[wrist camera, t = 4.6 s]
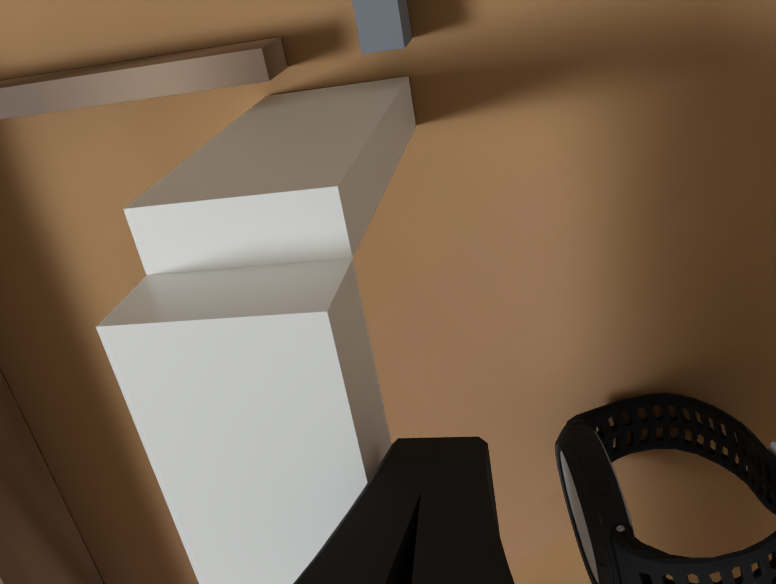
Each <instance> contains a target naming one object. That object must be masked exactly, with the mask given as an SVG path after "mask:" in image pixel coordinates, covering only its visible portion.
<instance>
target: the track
mask: <svg viewBox="0 0 776 584" xmlns="http://www.w3.org/2000/svg"><path fill="white" fill-rule="evenodd" d="M286 68H288V67H287V63H286V58H285V54H284V49H283V45H282V40H281V37H276V38H269V39H263V40H257V41H250V42H244V43H237V44H231V45H225V46H218V47H212V48H205V49H199V50H193V51H186V52H180V53H174V54H167V55H161V56H154V57H148V58H142V59H135V60H129V61H122V62H116V63H110V64H103V65H97V66H90V67H84V68H78V69H71V70H65V71H58V72H52V73H46V74H39V75H33V76H27V77H20V78H14V79H7V80H1V81H0V119H6V118H13V117H20V116H27V115H34V114H41V113H48V112H55V111H62V110H69V109H76V108H83V107H90V106H97V105H104V104H111V103H118V102H125V101H132V100H139V99H146V98H153V97H160V96H167V95H174V94H181V93H188V92H195V91H202V90H209V89H216V88H223V87H230V86H237V85H244V84H251V83H258V82H265V81H270V80H271V79H273V78H274V77H275V76H277V75H278V74H279V73H281V72H282V71H283V70H285V69H286ZM0 584H104V583H103V581H102V579H101V577H100V575H99V573H98V571H97V569H96V566H95V564H94V562H93V560H92V558H91V556H90V554H89V552H88V550H87V548H86V546H85V544H84V542H83V540H82V538H81V536H80V533H79V531H78V529H77V527H76V525H75V523H74V521H73V519H72V517H71V515H70V513H69V511H68V509H67V507H66V505H65V503H64V500H63V498H62V496H61V494H60V492H59V490H58V488H57V486H56V484H55V482H54V480H53V478H52V476H51V474H50V472H49V470H48V467H47V465H46V463H45V461H44V459H43V457H42V455H41V453H40V451H39V449H38V447H37V445H36V443H35V441H34V439H33V436H32V434H31V432H30V430H29V428H28V426H27V424H26V422H25V420H24V418H23V416H22V414H21V412H20V410H19V408H18V406H17V403H16V401H15V399H14V397H13V395H12V393H11V391H10V389H9V387H8V385H7V383H6V381H5V379H4V377H3V375H2V373H1V370H0Z"/></svg>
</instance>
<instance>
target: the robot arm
mask: <svg viewBox="0 0 776 584" xmlns="http://www.w3.org/2000/svg"><path fill="white" fill-rule="evenodd" d="M293 584H514V581H513V578H512V575H511V572H510V569H509V566H508V563H507V560H506V556H505V553H504V549H503V546H502V542H501V539H500V534H499V526H498V518H497V511H496V503H495V496H494V488H493V480H492V473H491V465H490V457H489V450H488V443H486V442H485V441H484V440H483V439H481V438H480V437H442V438H398V439H397V440H396V441H395V442H394V443H393V444H392V445H391V447H390V448H389V450H388V452H387V453H386V455H385V456H384V458H383V460H382V461H381V463H380V464H379V466H378V467H377V469H376V471H375V472H374V474H373V475H372V477H371V478H370V480H369V481H368V483H367V484H366V486H365V487H364V489H363V490H362V492H361V493H360V495H359V496H358V498H357V499H356V501H355V502H354V504H353V505H352V506H351V508H350V509H349V511H348V512H347V514H346V515H345V516H344V518H343V519H342V520H341V522H340V523H339V525H338V526H337V527H336V529H335V530H334V531H333V533H332V534H331V536H330V537H329V538H328V540H327V541H326V542H325V544H324V545H323V547H322V548H321V549H320V551H319V552H318V553H317V555H316V556H315V557H314V558H313V560H312V561H311V562H310V564H309V565H308V566H307V567H306V568H305V570H304V571H303V572H302V573H301V575H300V576H299V577H298V578H297V580H296V581H295V582H294V583H293Z"/></svg>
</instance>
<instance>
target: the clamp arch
mask: <svg viewBox="0 0 776 584" xmlns="http://www.w3.org/2000/svg"><path fill="white" fill-rule="evenodd" d="M415 127H416V123H415V116H414V109H413V103H412V96H411V90H410V83H409V77H408V76H407V77H400V78H393V79H385V80H378V81H371V82H364V83H356V84H349V85H342V86H335V87H327V88H320V89H313V90H306V91H298V92H291V93H284V94H277V95H269V96H266V97H264V98H263V99H262V100H261V101H259V102H258V103H257V104H256V105H254V106H253V107H252V108H250V109H249V110H248V111H247V112H245V113H244V114H243V115H242V116H240V117H239V118H238V119H237V120H235V121H234V122H233V123H231V124H230V125H229V126H228V127H226V128H225V129H224V130H223V131H221V132H220V133H219V134H218V135H216V136H215V137H214V138H212V139H211V140H210V141H209V142H207V143H206V144H205V145H204V146H202V147H201V148H200V149H199V150H197V151H196V152H195V153H193V154H192V155H191V156H190V157H188V158H187V159H186V160H185V161H183V162H182V163H181V164H180V165H178V166H177V167H176V168H174V169H173V170H172V171H171V172H169V173H168V174H167V175H166V176H164V177H163V178H162V179H161V180H159V181H158V182H157V183H156V184H154V185H153V186H152V187H150V188H149V189H148V190H147V191H145V192H144V193H143V194H142V195H140V196H139V197H138V198H137V199H135V200H134V201H133V202H131V203H130V204H129V205H128V206H126V207H125V208H124V209H123V210H124V212H125V215H126V218H127V221H128V224H129V227H130V229H131V232H132V235H133V238H134V241H135V244H136V246H137V249H138V252H139V255H140V258H141V261H142V263H143V266H144V269H145V272H146V276H145V277H144V278H143V279H142V281H141V282H140V283H139V284H138V285H137V286H136V287H135V288H134V289H133V290H132V291H131V292H130V293H129V294H128V295H127V296H126V297H125V298H124V299H123V300H122V301H121V302H120V303H119V304H118V305H117V306H116V307H115V308H114V309H113V310H112V311H111V312H110V313H109V314H108V315H107V316H106V317H105V318H104V319H103V320H102V321H101V322H100V323H99V324H98V325H97V326H96V329H97V331H98V334H99V336H100V339H101V341H102V344H103V346H104V348H105V351H106V353H107V356H108V358H109V361H110V363H111V366H112V368H113V371H114V373H115V376H116V378H117V381H118V383H119V386H120V388H121V391H122V393H123V396H124V398H125V401H126V403H127V406H128V408H129V411H130V413H131V416H132V418H133V421H134V423H135V426H136V428H137V431H138V433H139V436H140V438H141V441H142V443H143V446H144V448H145V450H146V453H147V455H148V458H149V460H150V463H151V465H152V468H153V470H154V473H155V475H156V478H157V480H158V483H159V485H160V488H161V490H162V493H163V495H164V498H165V500H166V503H167V505H168V508H169V510H170V513H171V515H172V518H173V520H174V523H175V525H176V528H177V530H178V533H179V535H180V538H181V540H182V543H183V545H184V547H185V550H186V552H187V555H188V557H189V560H190V562H191V565H192V567H193V570H194V572H195V575H196V577H197V580H198V582H199V584H293V583H294V582H295V581H296V580H297V578H298V577H299V576H300V575H301V573H302V572H303V571H304V570H305V568H306V567H307V566H308V565H309V564H310V562H311V561H312V560H313V558H314V557H315V556H316V555H317V553H318V552H319V551H320V549H321V548H322V547H323V545H324V544H325V542H326V541H327V540H328V538H329V537H330V536H331V534H332V533H333V531H334V530H335V529H336V527H337V526H338V525H339V523H340V522H341V520H342V519H343V518H344V516H345V515H346V514H347V512H348V511H349V509H350V508H351V506H352V505H353V504H354V502H355V501H356V499H357V498H358V496H359V495H360V493H361V492H362V490H363V489H364V487H365V486H366V484H367V483H368V481H369V480H370V478H371V477H372V475H373V474H374V472H375V471H376V469H377V467H378V466H379V464H380V463H381V461H382V460H383V458H384V456H385V455H386V453H387V452H388V450H389V448H390V447H391V445H392V444H391V439H390V434H389V430H388V425H387V420H386V415H385V411H384V406H383V401H382V396H381V391H380V387H379V382H378V377H377V372H376V367H375V363H374V358H373V353H372V348H371V344H370V339H369V334H368V329H367V324H366V320H365V315H364V310H363V305H362V301H361V296H360V291H359V286H358V281H357V277H356V272H355V267H354V262H353V257H354V254H355V252H356V250H357V248H358V246H359V244H360V242H361V240H362V238H363V236H364V234H365V231H366V229H367V227H368V225H369V223H370V221H371V219H372V217H373V215H374V213H375V211H376V208H377V206H378V204H379V202H380V200H381V198H382V196H383V194H384V192H385V190H386V188H387V185H388V183H389V181H390V179H391V177H392V175H393V173H394V171H395V169H396V167H397V165H398V162H399V160H400V158H401V156H402V154H403V152H404V150H405V148H406V146H407V144H408V142H409V140H410V137H411V135H412V133H413V131H414V129H415Z"/></svg>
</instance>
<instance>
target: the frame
mask: <svg viewBox="0 0 776 584" xmlns="http://www.w3.org/2000/svg"><path fill="white" fill-rule="evenodd" d="M352 1H353V7H354V12H355V18H356V24H357V29H358V35H359V40H360V46H361V52H362V54H368V53H375V52H382V51H388V50H395V49H402V48H405V47H406V46H407V44H408V43H409V42H410V41H411V39H412V33H411V26H410V20H409V13H408V6H407V0H352Z"/></svg>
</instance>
